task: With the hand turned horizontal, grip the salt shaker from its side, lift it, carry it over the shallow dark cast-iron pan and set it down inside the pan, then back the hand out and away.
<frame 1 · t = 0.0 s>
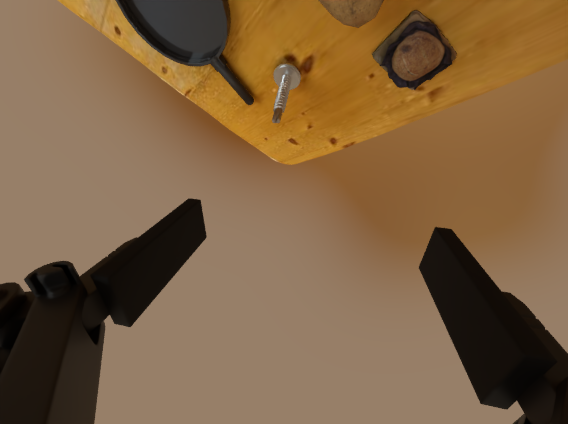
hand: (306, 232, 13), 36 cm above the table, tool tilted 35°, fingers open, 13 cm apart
pan handle: (234, 82, 45), point 1 cm above the table
pan: (175, 3, 36), on the table
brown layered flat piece: (413, 53, 37), on the table
screw: (289, 69, 42), on the table
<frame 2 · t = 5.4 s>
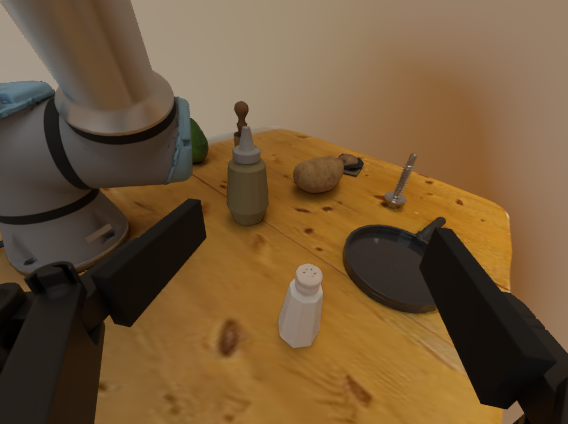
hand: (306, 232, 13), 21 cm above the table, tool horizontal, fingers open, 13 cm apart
mortar and pestle: (243, 177, 61), on the table
potato: (316, 189, 58), on the table
pan handle: (431, 229, 46), point 1 cm above the table
pan: (392, 265, 40), on the table
salt shaker: (297, 327, 30), on the table
squeeze bottle: (248, 217, 48), on the table
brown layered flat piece: (346, 167, 70), on the table
avocado: (196, 162, 65), on the table
screw: (391, 205, 55), on the table
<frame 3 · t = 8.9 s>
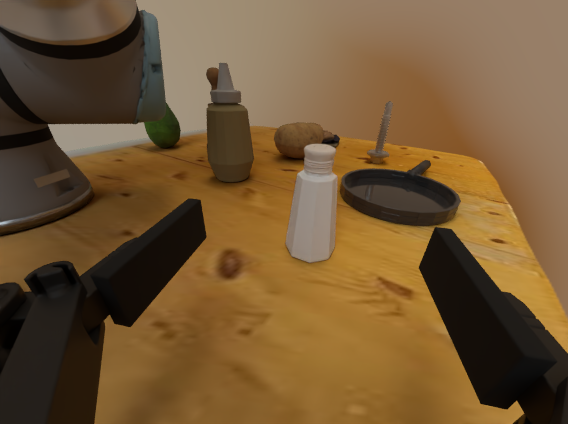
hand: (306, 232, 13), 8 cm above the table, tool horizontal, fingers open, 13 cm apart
mortar and pestle: (221, 154, 57), on the table
potato: (299, 157, 57), on the table
pan handle: (419, 169, 46), point 1 cm above the table
pan: (393, 197, 38), on the table
salt shaker: (309, 248, 26), on the table
squeeze bottle: (232, 178, 44), on the table
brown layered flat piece: (324, 144, 70), on the table
avocado: (167, 148, 61), on the table
screw: (375, 163, 55), on the table
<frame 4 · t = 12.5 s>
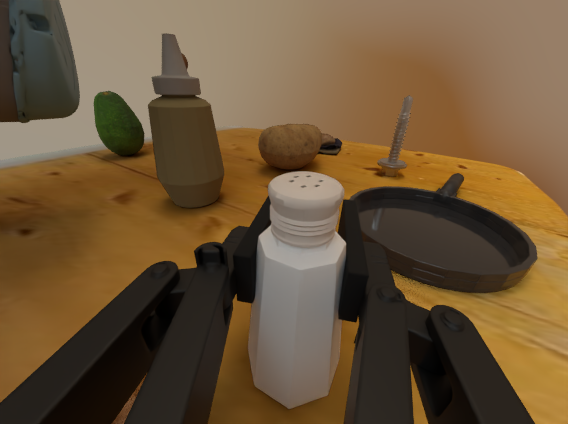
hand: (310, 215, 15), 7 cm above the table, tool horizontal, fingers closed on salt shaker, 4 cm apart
potato: (291, 168, 45), on the table
pan handle: (451, 186, 34), point 1 cm above the table
pan: (422, 232, 26), on the table
salt shaker: (292, 356, 14), on the table, touching gripper
squeeze bottle: (197, 200, 32), on the table
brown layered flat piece: (323, 149, 58), on the table
avocado: (129, 156, 49), on the table
screw: (388, 175, 43), on the table
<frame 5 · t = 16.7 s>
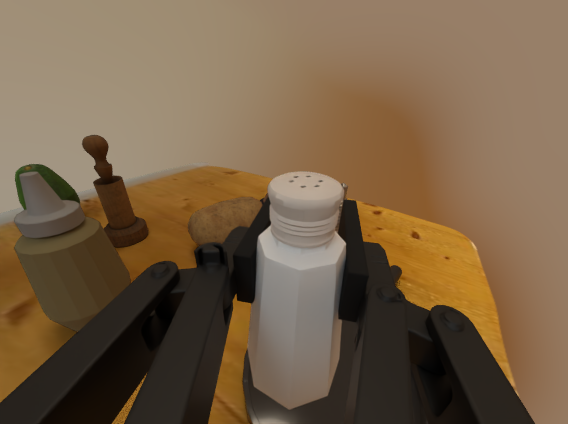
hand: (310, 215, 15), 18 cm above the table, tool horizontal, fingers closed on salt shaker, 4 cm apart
mortar and pestle: (128, 237, 43), on the table
potato: (231, 243, 42), on the table
pan handle: (383, 288, 31), point 1 cm above the table
pan: (329, 374, 23), on the table
salt shaker: (292, 357, 14), point 11 cm above the table, touching gripper
squeeze bottle: (102, 312, 29), on the table
avocado: (63, 224, 46), on the table
screw: (332, 253, 40), on the table
when the fingers open (7 cm above the table, at t = 20.8 s): salt shaker stays where it is, resting on pan.
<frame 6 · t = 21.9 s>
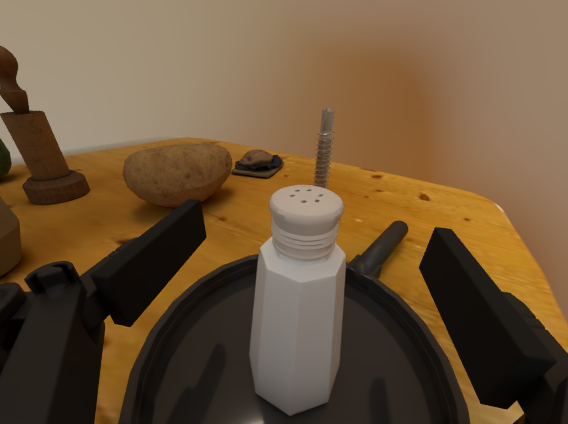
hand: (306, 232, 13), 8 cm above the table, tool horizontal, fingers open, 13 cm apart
mortar and pestle: (62, 195, 34), on the table
potato: (190, 202, 33), on the table
pan handle: (382, 247, 22), point 1 cm above the table
pan: (292, 364, 14), on the table
salt shaker: (293, 363, 14), resting on pan
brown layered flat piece: (259, 169, 47), on the table
screw: (317, 214, 31), on the table
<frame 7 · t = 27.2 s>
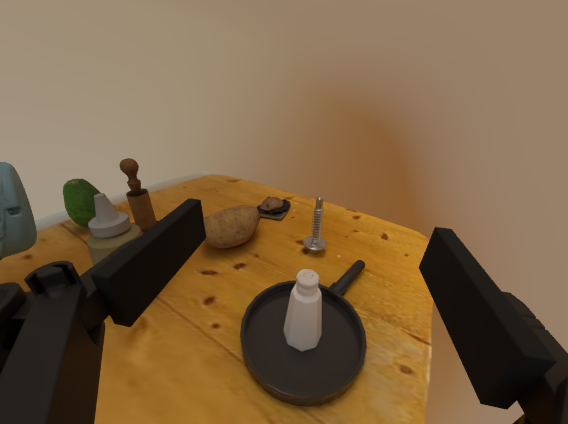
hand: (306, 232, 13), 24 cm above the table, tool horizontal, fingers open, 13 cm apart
mortar and pestle: (150, 237, 53), on the table
potato: (233, 242, 53), on the table
pan handle: (348, 277, 41), point 1 cm above the table
pan: (301, 334, 33), on the table
salt shaker: (302, 334, 33), resting on pan
squeeze bottle: (137, 293, 39), on the table
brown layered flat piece: (273, 210, 66), on the table
avocado: (97, 226, 57), on the table
screw: (313, 251, 50), on the table
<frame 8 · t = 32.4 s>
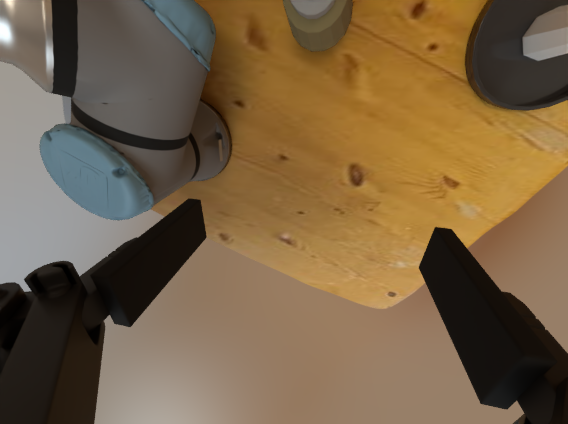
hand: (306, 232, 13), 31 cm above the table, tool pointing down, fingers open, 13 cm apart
pan: (544, 35, 29), on the table
salt shaker: (545, 35, 29), resting on pan
squeeze bottle: (321, 20, 33), on the table
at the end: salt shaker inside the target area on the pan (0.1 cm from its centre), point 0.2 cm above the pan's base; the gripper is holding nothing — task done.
